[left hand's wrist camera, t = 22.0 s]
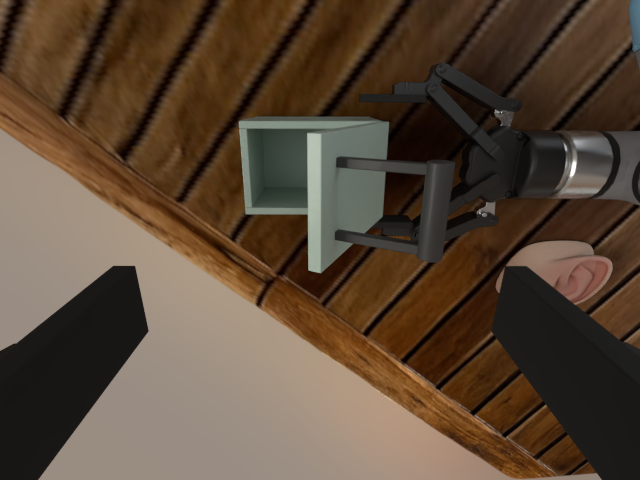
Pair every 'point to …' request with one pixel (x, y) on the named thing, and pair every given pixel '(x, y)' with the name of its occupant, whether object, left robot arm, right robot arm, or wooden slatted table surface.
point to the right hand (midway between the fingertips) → (357, 163)
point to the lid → (367, 194)
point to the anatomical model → (565, 267)
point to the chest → (281, 160)
